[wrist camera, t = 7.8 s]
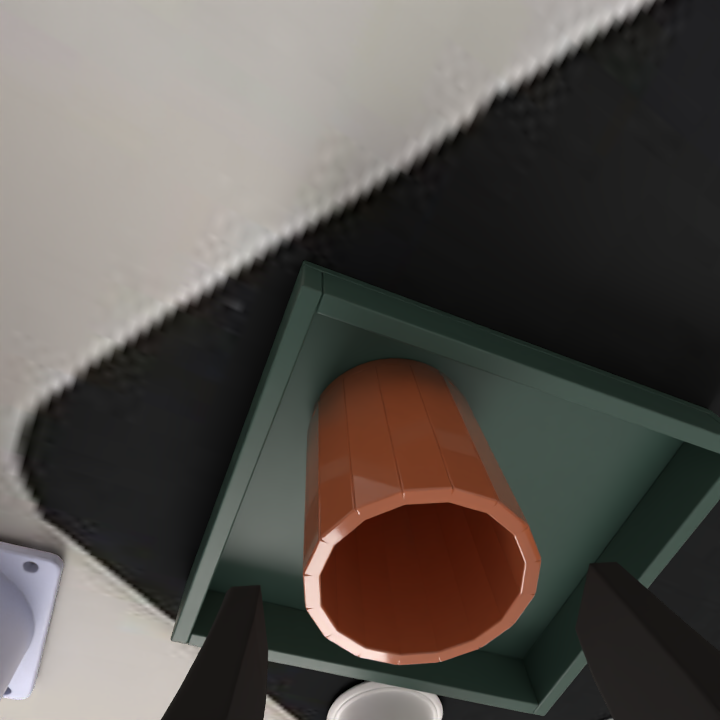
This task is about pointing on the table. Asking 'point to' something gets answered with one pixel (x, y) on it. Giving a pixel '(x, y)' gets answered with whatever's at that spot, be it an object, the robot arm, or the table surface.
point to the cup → (409, 520)
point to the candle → (385, 704)
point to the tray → (515, 457)
